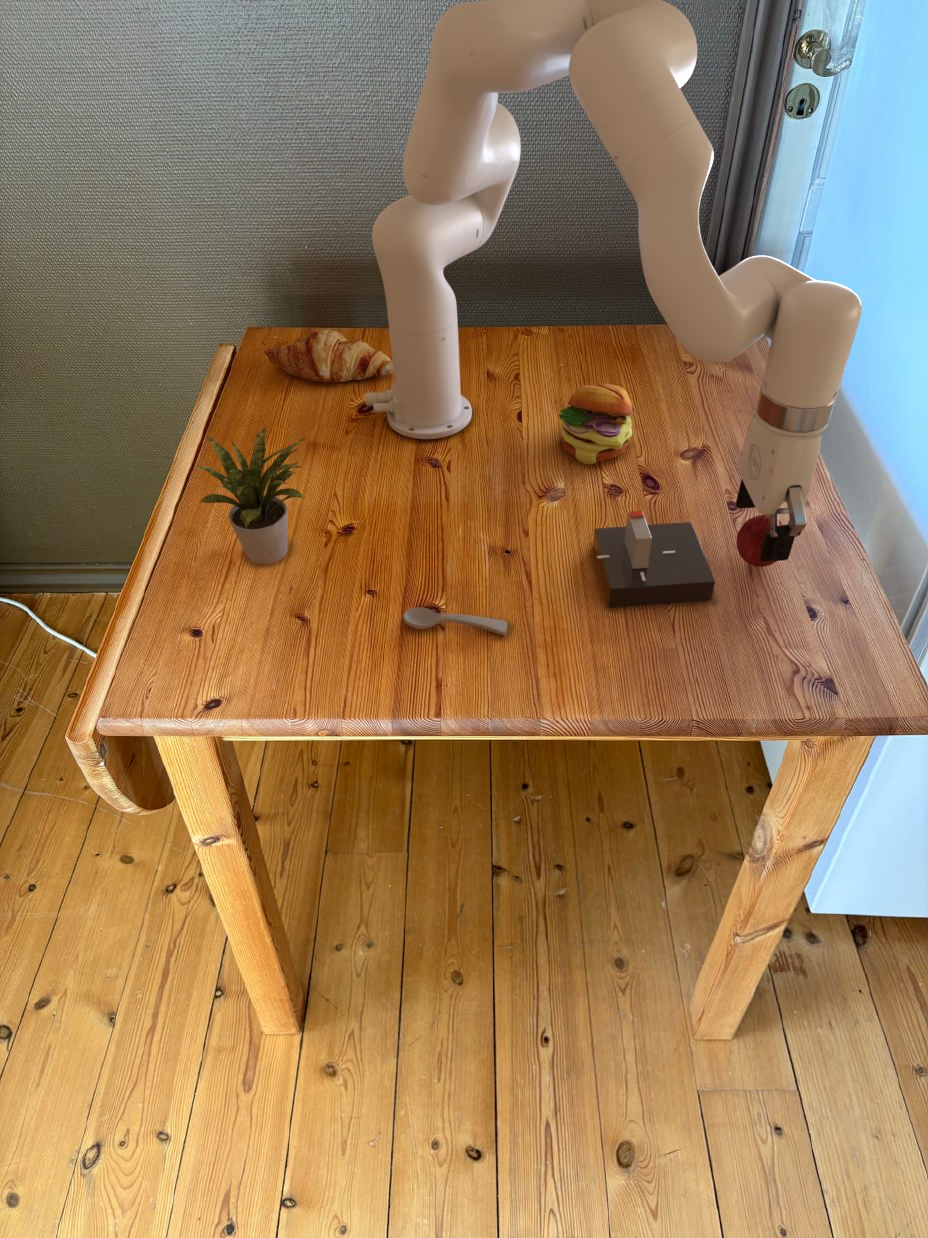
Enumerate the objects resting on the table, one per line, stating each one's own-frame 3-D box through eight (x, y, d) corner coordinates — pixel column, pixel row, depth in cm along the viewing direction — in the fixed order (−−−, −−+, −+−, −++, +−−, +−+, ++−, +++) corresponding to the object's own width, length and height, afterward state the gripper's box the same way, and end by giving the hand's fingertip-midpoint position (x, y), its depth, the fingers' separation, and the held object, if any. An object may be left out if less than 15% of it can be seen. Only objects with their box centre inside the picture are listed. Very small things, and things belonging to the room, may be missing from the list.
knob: (647, 568, 108) (652, 536, 104) (632, 569, 108) (636, 537, 104) (639, 540, 111) (643, 509, 108) (624, 541, 111) (627, 510, 108)
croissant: (401, 386, 151) (404, 335, 149) (387, 388, 142) (389, 334, 140) (277, 376, 154) (278, 325, 152) (254, 377, 145) (255, 324, 142)
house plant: (333, 585, 112) (313, 473, 101) (217, 603, 110) (183, 492, 99) (322, 514, 122) (303, 405, 111) (215, 530, 120) (185, 421, 109)
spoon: (405, 613, 108) (405, 600, 106) (507, 626, 107) (508, 613, 106) (400, 631, 106) (400, 618, 104) (504, 644, 105) (506, 632, 103)
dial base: (603, 608, 107) (605, 588, 105) (588, 547, 115) (589, 527, 113) (711, 600, 108) (715, 580, 106) (688, 540, 116) (691, 520, 113)
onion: (781, 583, 109) (796, 530, 104) (731, 578, 110) (743, 525, 105) (780, 552, 114) (794, 499, 108) (731, 547, 114) (742, 494, 109)
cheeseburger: (547, 460, 129) (553, 389, 124) (568, 436, 138) (575, 369, 132) (618, 473, 126) (628, 401, 121) (635, 448, 134) (645, 380, 129)
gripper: (736, 364, 103) (710, 489, 115) (785, 455, 90) (750, 584, 103) (803, 361, 103) (769, 485, 115) (860, 450, 91) (817, 579, 103)
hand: (760, 532), depth 109 cm, fingers open, 9 cm apart
